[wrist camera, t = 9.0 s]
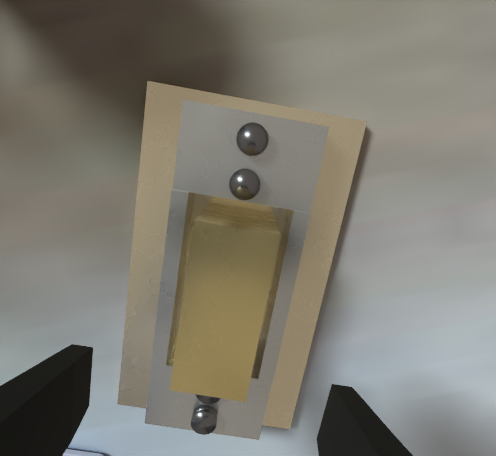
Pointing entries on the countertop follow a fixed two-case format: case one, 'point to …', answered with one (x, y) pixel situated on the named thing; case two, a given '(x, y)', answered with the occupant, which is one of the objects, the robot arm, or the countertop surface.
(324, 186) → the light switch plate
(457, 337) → the countertop surface
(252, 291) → the yellow block
